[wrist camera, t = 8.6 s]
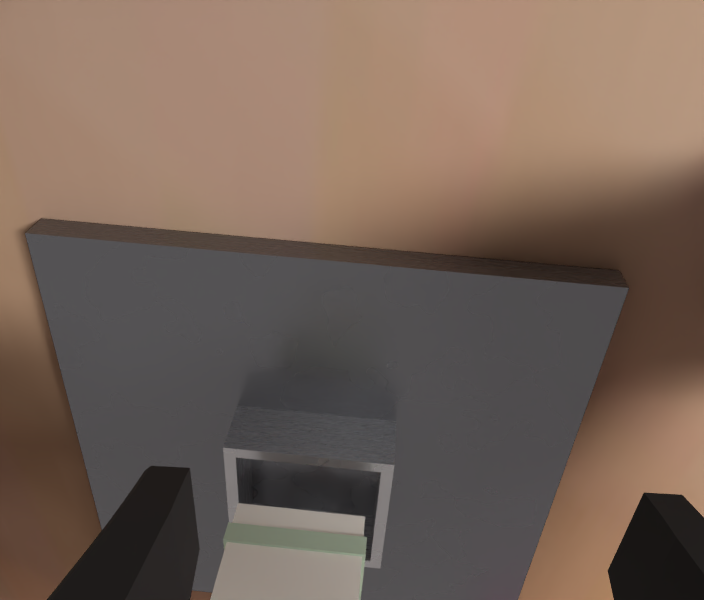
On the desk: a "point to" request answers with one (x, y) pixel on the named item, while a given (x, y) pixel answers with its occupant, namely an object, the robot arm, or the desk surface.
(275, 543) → the post
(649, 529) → the robot arm
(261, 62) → the desk surface
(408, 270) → the stand
